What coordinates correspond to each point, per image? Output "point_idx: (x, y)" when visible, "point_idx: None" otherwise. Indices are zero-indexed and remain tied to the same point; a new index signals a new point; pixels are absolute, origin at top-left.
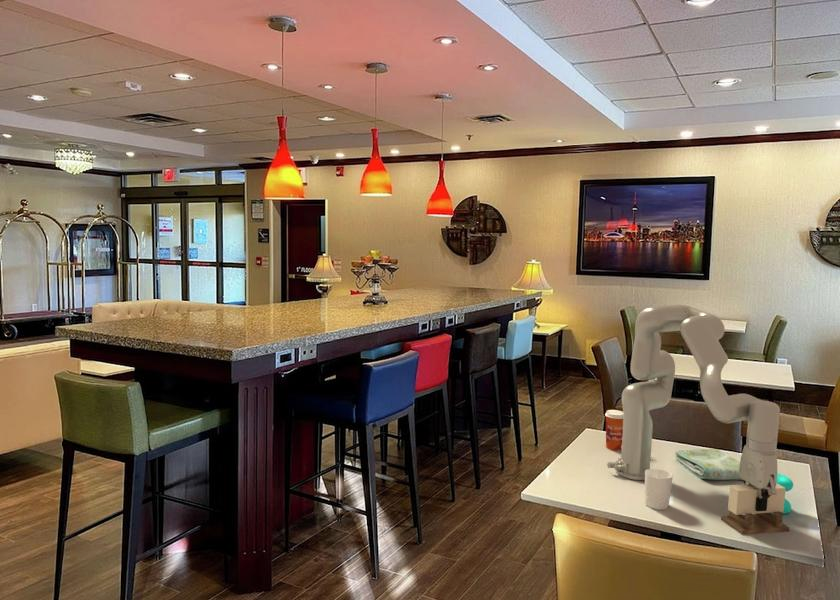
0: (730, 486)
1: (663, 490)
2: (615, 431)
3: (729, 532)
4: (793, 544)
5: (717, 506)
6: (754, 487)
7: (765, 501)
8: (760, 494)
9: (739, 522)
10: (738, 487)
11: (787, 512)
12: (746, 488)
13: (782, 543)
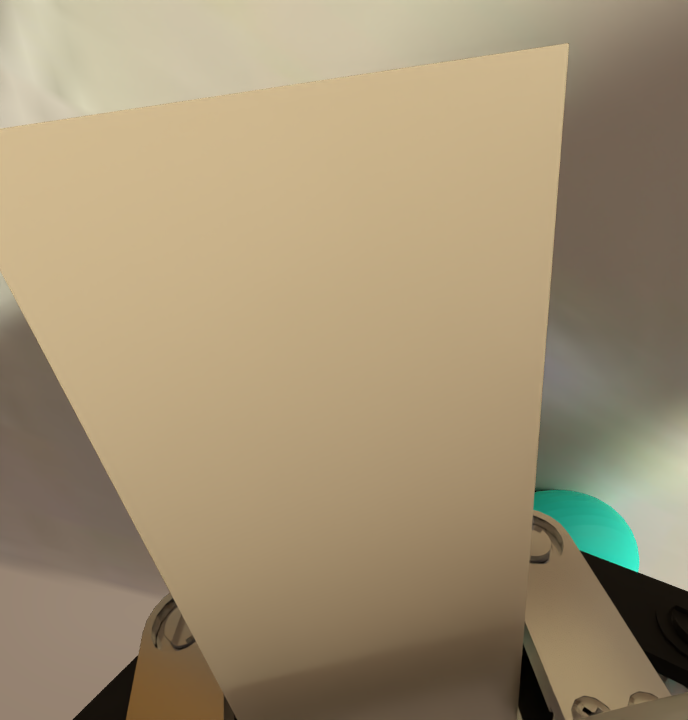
0: (508, 53)
1: None
2: None
3: (156, 88)
4: (59, 491)
5: (624, 250)
6: (364, 702)
7: None
8: (154, 670)
9: None
10: (353, 349)
11: None
12: (290, 551)
13: (52, 435)
